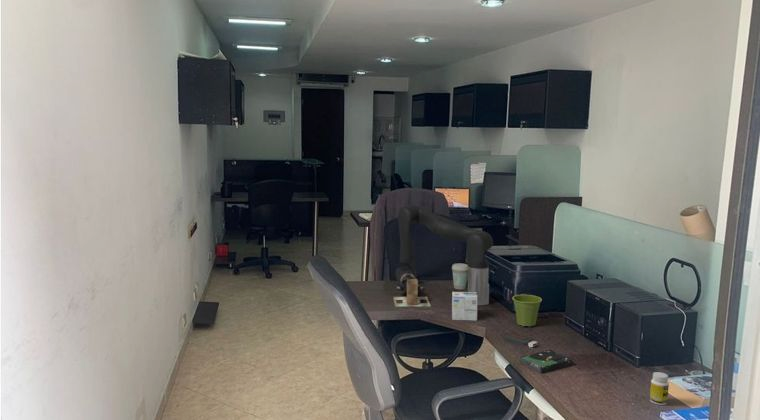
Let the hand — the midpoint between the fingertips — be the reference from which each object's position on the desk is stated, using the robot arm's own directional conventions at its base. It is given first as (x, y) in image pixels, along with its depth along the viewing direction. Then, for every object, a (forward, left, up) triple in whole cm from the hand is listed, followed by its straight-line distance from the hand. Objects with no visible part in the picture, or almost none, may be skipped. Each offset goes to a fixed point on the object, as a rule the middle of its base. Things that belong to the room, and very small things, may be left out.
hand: (411, 292), depth 264 cm
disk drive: (-40, +69, -7) cm, 80 cm away
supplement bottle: (-65, +97, -6) cm, 117 cm away
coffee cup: (-27, -29, -6) cm, 40 cm away
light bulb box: (-21, +19, -6) cm, 29 cm away
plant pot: (-45, +28, -6) cm, 53 cm away
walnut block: (0, +3, -4) cm, 6 cm away
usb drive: (-37, +49, -7) cm, 62 cm away
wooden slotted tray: (0, 0, -6) cm, 6 cm away
